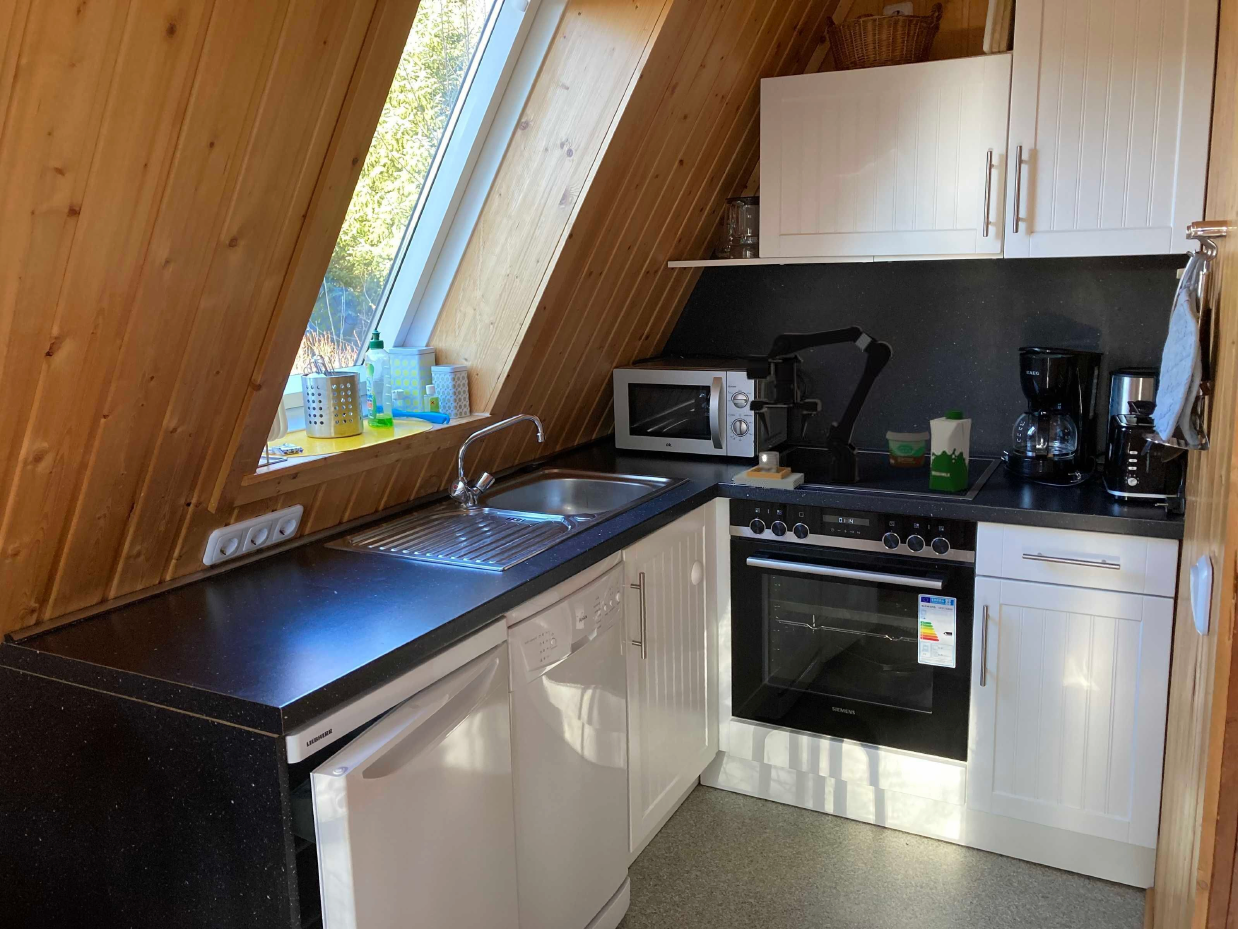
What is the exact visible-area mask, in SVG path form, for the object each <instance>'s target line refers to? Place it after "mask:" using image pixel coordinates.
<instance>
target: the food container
mask: <svg viewBox="0 0 1238 929" xmlns="http://www.w3.org/2000/svg"><path fill="white" fill-rule="evenodd" d="M885 438H886V439H888V448H889V460H890V465H891V466H893V467H899V468H919V467H923V466H924V464H925V457H926V451H927V442H928V440H929V439H930V433H929V431H928V430H927V431H925V432H918V433H916V432H909V431H908V432H894V431H893V432H892V431H890V430H888V431H887V432H886V436H885Z"/></svg>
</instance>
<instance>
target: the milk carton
mask: <svg viewBox="0 0 1238 929" xmlns="http://www.w3.org/2000/svg"><path fill="white" fill-rule="evenodd" d="M945 415H946V416H944V417H938V418H934V419H932V420H929V424H930V433H931V442H930V444H931V446H930V448H931V449H930V471H929V473H930V475H929V486H928V487H929V490H937V491H942V492H943V491H945V492H950V491H951V492H953V493H956V492H959V491H962V490H965V489H968V482H969V480H968V478H969V460H970V458H969V456H970V453H969V452H970V436H971V426H972V419H971V418H970V419H969V418H963V415H964V411H963V410H958V409H949V410H946V414H945ZM951 492H950V493H951Z"/></svg>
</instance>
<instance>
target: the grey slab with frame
mask: <svg viewBox="0 0 1238 929" xmlns="http://www.w3.org/2000/svg"><path fill="white" fill-rule="evenodd" d="M804 480H805V474H804V473H799V472H798V473H797V472H792V469H791V467H785V466H784V467H783V466H782V467H781V466H779V473H765V472H759V465H756V466H755V467H753V468H751V469H746V470H743V471H741V472H740V473H738V474H736V475H734V476H733V484H734V483H735V484H746V485H751V486H757V487H758V486H759V487H762V488H761V489H770V488H781V489H780V490H784V489H788V490H787V491H794V490H795V489H794V488H795V487H796V486H797V485H799V484H801V485H803V484H804V483H805V481H804ZM763 487H764V488H763ZM765 487H766V488H765ZM782 488H783V489H782ZM789 489H790V490H789Z"/></svg>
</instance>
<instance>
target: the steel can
mask: <svg viewBox="0 0 1238 929" xmlns="http://www.w3.org/2000/svg"><path fill="white" fill-rule="evenodd" d="M779 454H780V453H779V452H777V451H761V452H759V453H758V462H759V464H758V466H759V472H765V473H779V467H780V462H779V461H780V457H779V456H780V455H779Z"/></svg>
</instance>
